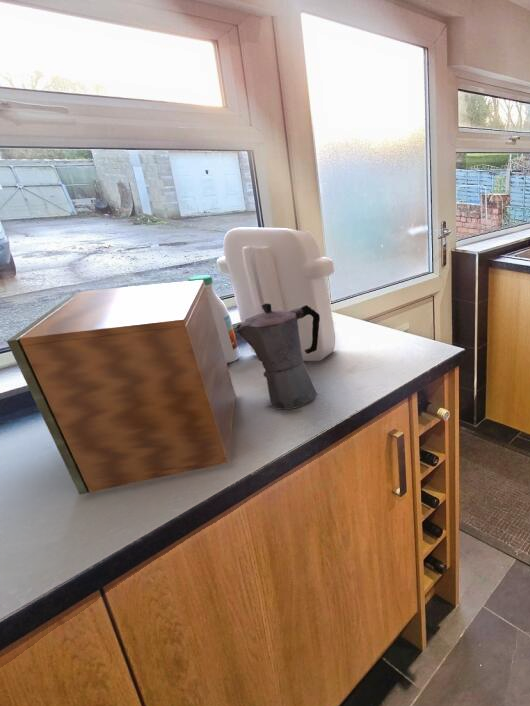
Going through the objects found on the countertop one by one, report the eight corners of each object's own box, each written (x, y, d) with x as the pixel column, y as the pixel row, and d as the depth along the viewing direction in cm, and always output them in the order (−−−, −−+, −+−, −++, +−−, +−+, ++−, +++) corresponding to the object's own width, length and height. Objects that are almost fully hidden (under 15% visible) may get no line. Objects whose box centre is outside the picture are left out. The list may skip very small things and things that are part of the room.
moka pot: (246, 404, 97) (219, 306, 89) (319, 380, 108) (302, 289, 99) (267, 420, 92) (240, 316, 83) (342, 393, 102) (325, 298, 93)
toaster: (226, 359, 119) (190, 230, 106) (257, 343, 129) (227, 223, 116) (328, 368, 113) (303, 233, 101) (352, 350, 123) (332, 225, 110)
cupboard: (89, 492, 72) (18, 338, 62) (130, 415, 94) (82, 291, 84) (227, 463, 79) (183, 319, 69) (236, 397, 101) (203, 279, 90)
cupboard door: (28, 505, 70) (-56, 348, 60) (85, 422, 91) (30, 296, 81) (87, 492, 72) (16, 339, 62) (129, 414, 94) (81, 291, 84)
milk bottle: (230, 365, 115) (206, 280, 107) (197, 366, 115) (171, 281, 107) (246, 353, 122) (225, 272, 114) (215, 353, 122) (192, 273, 114)
